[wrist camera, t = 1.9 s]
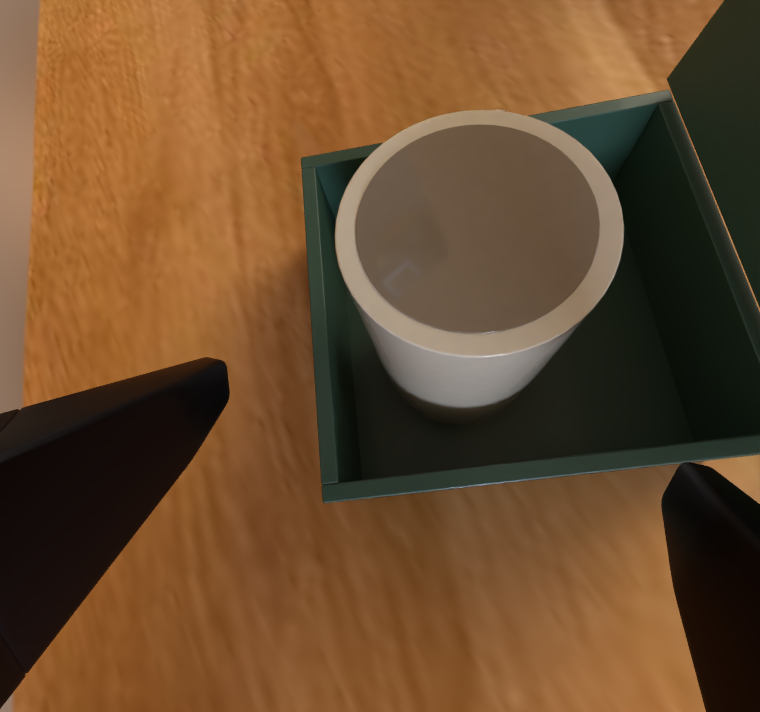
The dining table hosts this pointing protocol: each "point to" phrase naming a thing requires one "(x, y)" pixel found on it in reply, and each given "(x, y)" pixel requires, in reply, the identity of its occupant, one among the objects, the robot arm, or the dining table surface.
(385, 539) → the dining table surface
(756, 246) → the chest lid
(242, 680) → the dining table surface
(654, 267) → the chest
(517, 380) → the cream hollow round container
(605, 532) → the dining table surface
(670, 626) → the dining table surface
